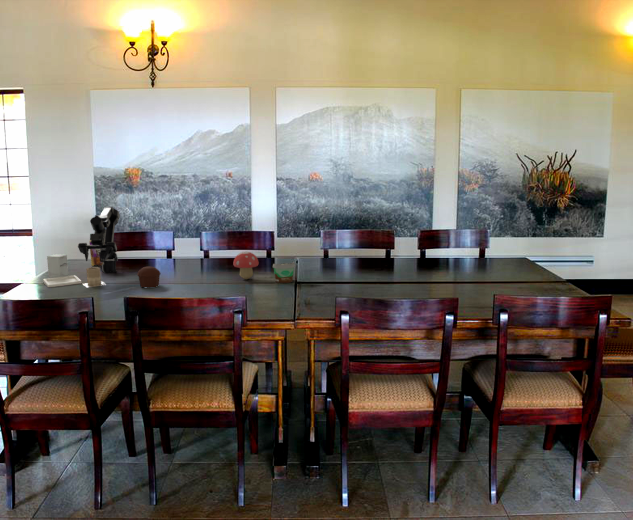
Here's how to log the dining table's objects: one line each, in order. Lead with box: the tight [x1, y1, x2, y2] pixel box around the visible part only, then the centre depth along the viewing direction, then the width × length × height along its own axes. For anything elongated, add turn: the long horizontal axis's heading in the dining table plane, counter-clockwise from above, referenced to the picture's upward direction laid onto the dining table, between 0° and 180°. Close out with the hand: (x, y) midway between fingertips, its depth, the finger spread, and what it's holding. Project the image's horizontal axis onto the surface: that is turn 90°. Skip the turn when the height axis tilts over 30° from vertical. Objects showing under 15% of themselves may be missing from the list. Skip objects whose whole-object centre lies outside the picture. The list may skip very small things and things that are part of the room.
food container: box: [272, 261, 296, 284], centre depth 300 cm, size 12×6×10 cm, turn 117°
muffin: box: [136, 266, 161, 288], centre depth 293 cm, size 12×11×10 cm
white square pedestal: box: [82, 280, 107, 288], centre depth 296 cm, size 10×10×6 cm
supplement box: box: [46, 253, 69, 278], centre depth 313 cm, size 7×7×13 cm
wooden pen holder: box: [86, 266, 102, 287], centre depth 295 cm, size 6×6×8 cm
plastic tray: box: [42, 274, 83, 288], centre depth 300 cm, size 16×16×2 cm
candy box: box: [89, 239, 105, 267], centre depth 348 cm, size 9×4×15 cm, turn 105°
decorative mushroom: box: [233, 251, 260, 280], centre depth 307 cm, size 13×13×15 cm
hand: (95, 260), depth 299 cm, fingers open, 9 cm apart
